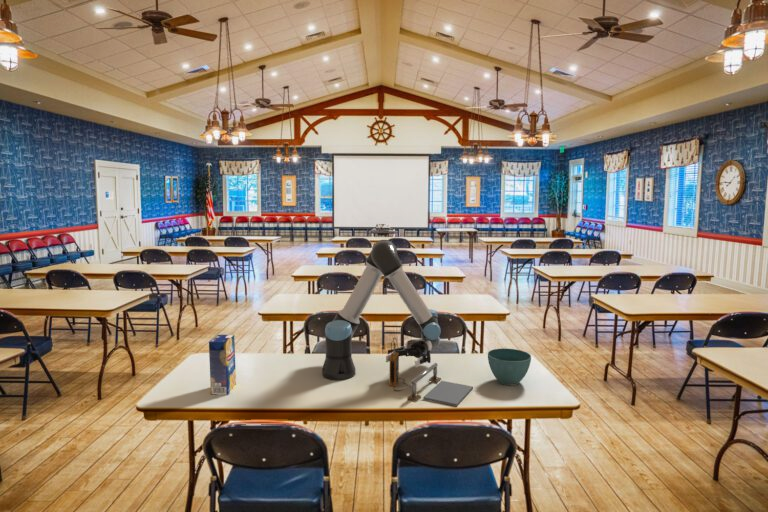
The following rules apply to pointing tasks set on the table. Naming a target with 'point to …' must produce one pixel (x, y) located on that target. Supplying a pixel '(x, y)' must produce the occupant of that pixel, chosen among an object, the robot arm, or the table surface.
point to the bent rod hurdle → (432, 379)
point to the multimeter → (394, 368)
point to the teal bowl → (509, 365)
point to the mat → (448, 393)
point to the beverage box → (222, 364)
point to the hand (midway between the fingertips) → (400, 361)
